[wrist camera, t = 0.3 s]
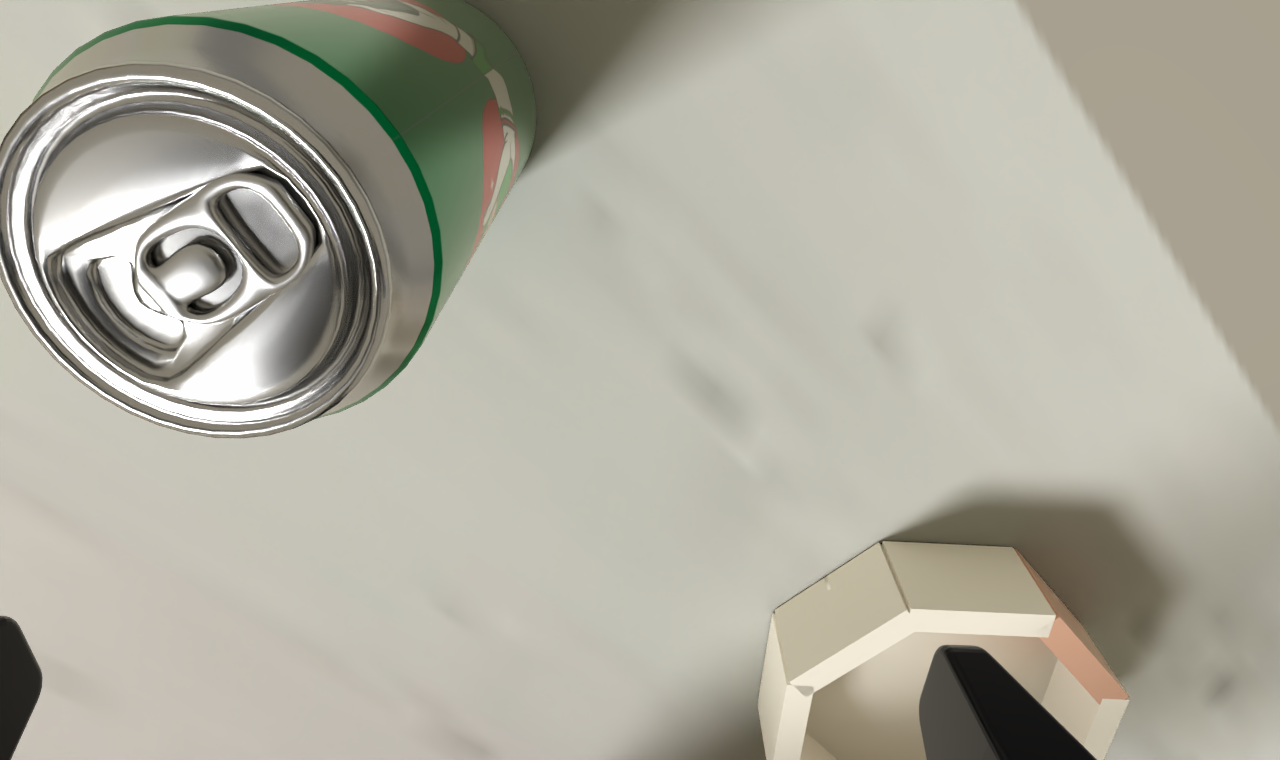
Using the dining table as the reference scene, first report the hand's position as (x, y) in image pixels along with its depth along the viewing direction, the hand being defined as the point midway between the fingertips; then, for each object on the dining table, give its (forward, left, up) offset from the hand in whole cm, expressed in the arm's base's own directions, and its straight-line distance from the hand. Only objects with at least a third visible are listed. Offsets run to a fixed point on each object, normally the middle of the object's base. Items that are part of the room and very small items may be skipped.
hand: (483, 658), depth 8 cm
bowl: (-14, -11, -15) cm, 23 cm away
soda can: (+3, +4, -15) cm, 15 cm away
